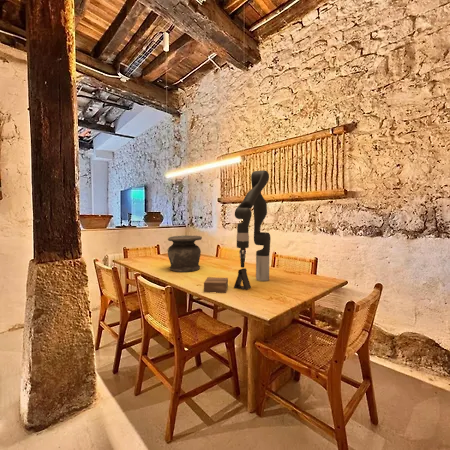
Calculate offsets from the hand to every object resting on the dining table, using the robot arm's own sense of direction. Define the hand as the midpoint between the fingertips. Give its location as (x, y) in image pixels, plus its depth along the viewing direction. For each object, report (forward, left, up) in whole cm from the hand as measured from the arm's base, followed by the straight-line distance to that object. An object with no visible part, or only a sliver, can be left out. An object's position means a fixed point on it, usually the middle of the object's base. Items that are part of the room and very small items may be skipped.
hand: (242, 266), depth 163 cm
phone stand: (0, 0, -14) cm, 14 cm away
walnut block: (+4, -16, -14) cm, 22 cm away
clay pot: (-52, -46, -14) cm, 71 cm away
